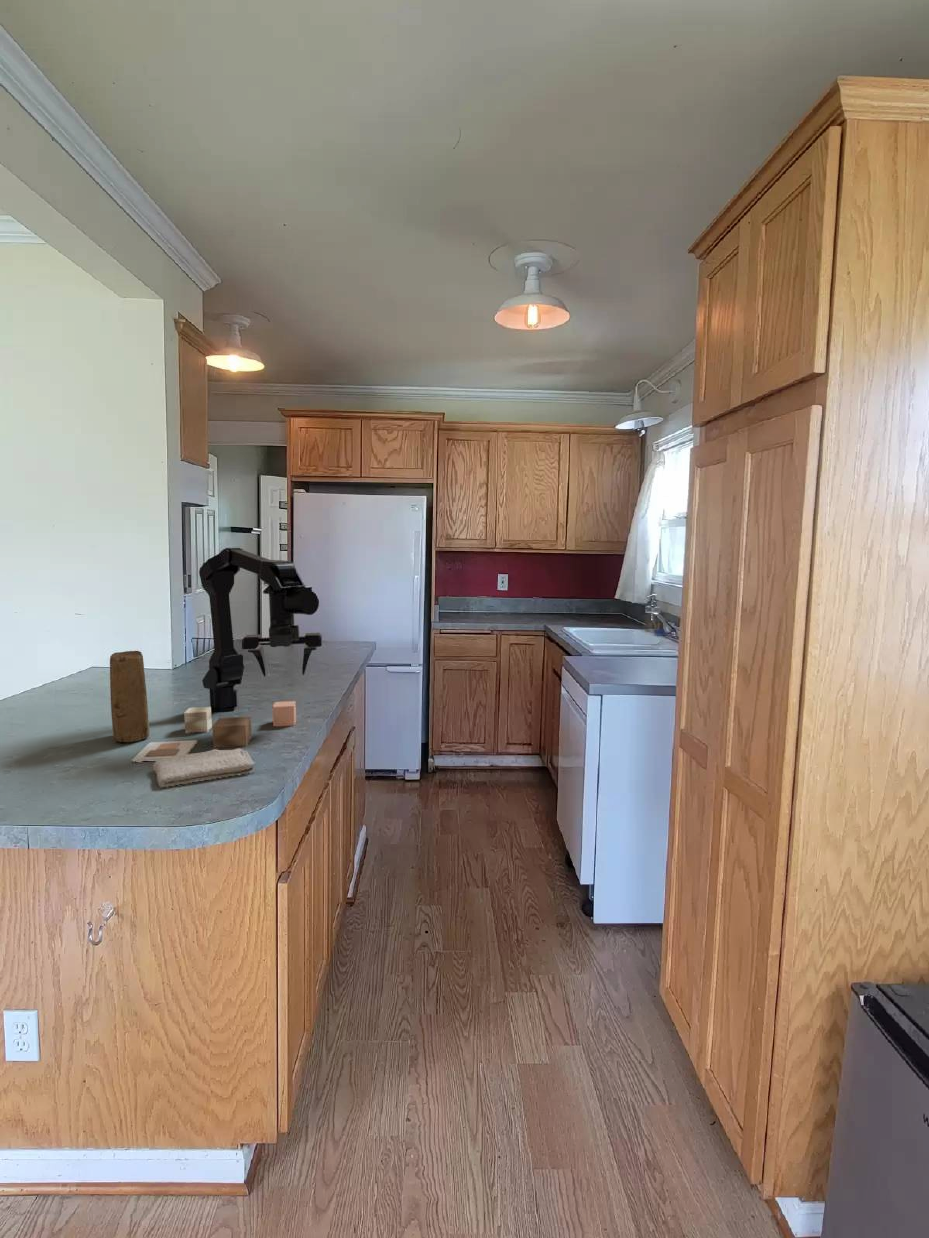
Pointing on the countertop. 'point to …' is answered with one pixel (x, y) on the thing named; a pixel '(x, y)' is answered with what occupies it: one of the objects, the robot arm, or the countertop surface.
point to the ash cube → (198, 719)
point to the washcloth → (202, 766)
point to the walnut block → (232, 732)
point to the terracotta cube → (284, 713)
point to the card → (165, 750)
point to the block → (128, 697)
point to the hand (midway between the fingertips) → (284, 675)
